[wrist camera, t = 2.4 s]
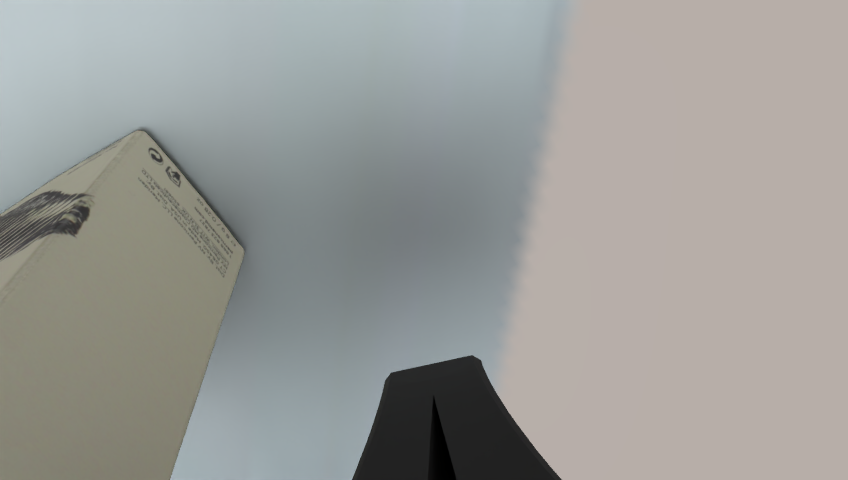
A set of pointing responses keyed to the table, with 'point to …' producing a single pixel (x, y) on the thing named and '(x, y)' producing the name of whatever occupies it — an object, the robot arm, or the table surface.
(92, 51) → the table surface
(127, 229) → the box
